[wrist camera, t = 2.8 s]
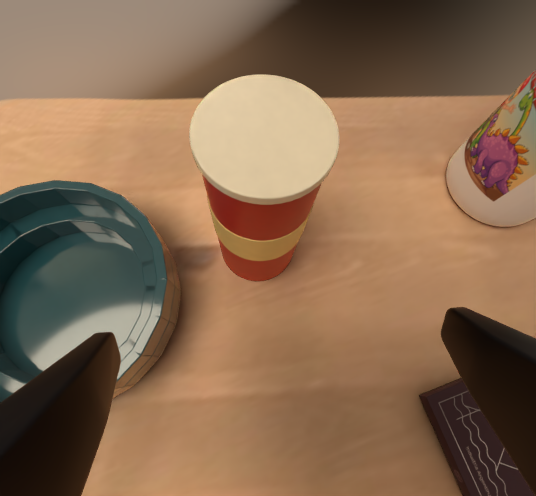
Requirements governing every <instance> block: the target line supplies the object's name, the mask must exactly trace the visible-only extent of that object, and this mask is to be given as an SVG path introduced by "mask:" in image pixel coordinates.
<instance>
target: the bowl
mask: <svg viewBox="0 0 536 496" xmlns="http://www.w3.org/2000/svg"><path fill="white" fill-rule="evenodd" d="M180 297H181V288H180V282H179V277H178V271H177V265H176V262H175V260H174V259H173V257H172V255H171V253H170V251H169V250H168V248H167V246H166V244H165V243H164V241H163V239H162V238H161V236H160V235H159V234H158V232H157V231H156V229H155V228H154V227H153V225H152V224H151V222H150V221H149V219H148V218H147V217H146V216H145V215H144V214H143V213H142V212H141V211H140V210H138V209H137V208H136V207H135V206H134V205H133V204H131V203H130V202H129V201H128V200H127V199H126V198H124V197H123V196H121V195H120V194H117V193H115V192H112V191H110V190H107V189H105V188H102V187H99V186H97V185H94V184H92V183H83V182H71V181H58V180H54V181H48V182H42V183H37V184H31V185H26V186H20V187H17V188H15V189H13V190H11V191H8V192H6V193H4V194H1V195H0V403H1V402H2V401H3V400H5V399H6V398H8V397H9V396H10V395H12V394H13V393H14V392H16V391H17V390H18V389H20V388H21V387H23V386H24V385H25V384H27V383H28V382H29V381H31V380H32V379H33V378H35V377H36V376H37V375H39V374H40V373H42V372H43V371H44V370H46V369H47V368H48V367H50V366H51V365H52V364H54V363H55V362H57V361H58V360H59V359H61V358H62V357H63V356H65V355H66V354H67V353H69V352H70V351H71V350H73V349H74V348H76V347H77V346H78V345H80V344H81V343H82V342H84V341H85V340H86V339H88V338H89V337H91V336H92V335H93V334H95V333H100V332H112V333H113V334H114V335H115V338H116V342H117V345H118V349H119V352H120V356H121V364H120V369H119V373H118V377H117V382H116V386H115V390H114V394H113V398H115V397H117V396H118V395H120V394H121V393H123V392H125V391H126V390H128V389H129V388H131V387H133V386H134V385H135V384H136V383H137V382H138V381H139V380H140V379H141V378H142V377H143V376H144V374H145V373H146V372H147V371H148V370H149V369H150V368H151V367H152V366H153V365H154V363H155V362H156V361H157V360H158V359H159V358H160V356H161V355H162V353H163V351H164V349H165V347H166V345H167V343H168V340H169V338H170V336H171V334H172V332H173V330H174V328H175V326H176V323H177V317H178V310H179V304H180Z"/></svg>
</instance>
